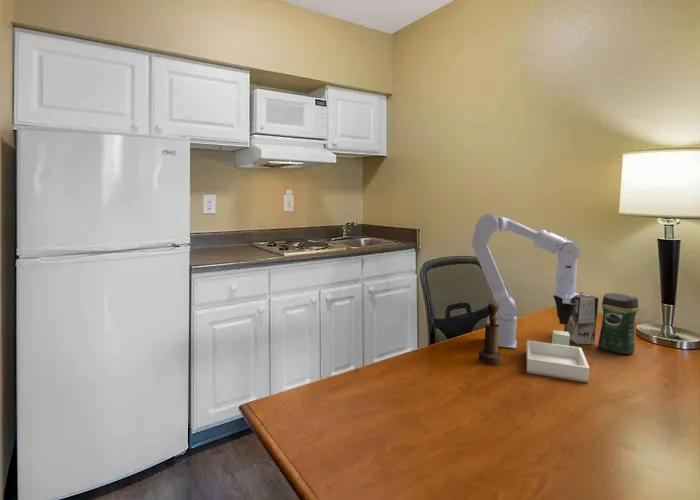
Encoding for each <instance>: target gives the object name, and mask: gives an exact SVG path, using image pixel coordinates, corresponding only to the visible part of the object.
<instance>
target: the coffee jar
mask: <svg viewBox="0 0 700 500" xmlns="http://www.w3.org/2000/svg"><path fill="white" fill-rule="evenodd" d="M638 300H639V299H638V297H637V296H631V295H629V294H628V295H627V294H623V293H617V292H608V293H605V294H604V295H603V297H602V302H601V307H602V308H601V309H602V319H601V320H602V322H601V325H600V332H599V337H598V347H599V348H600V349H602V350H605V351H608V352H612V353H615V354H620V355H630V354H631V355H632V354H634V353H635V347H636V346H635V344H636V342H635V340H636V339H635V319H636V315H637V313H638V311H639V301H638Z"/></svg>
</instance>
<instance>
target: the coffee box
mask: <svg viewBox="0 0 700 500" xmlns="http://www.w3.org/2000/svg"><path fill="white" fill-rule="evenodd" d="M575 293H579V296H575V297H573V299H572V300H571V302H570V303H575V304H576V306H575V308H574V309H573V311H572V313H571V315H570V318H569V322H568V324H567V325H565V324H564V328H563V331H565V332H569V335H570V341H571V342H573V343H574V344H576V345H595V341H596V330H597V317H598V309H599V299H600V298H599V297H598V296H594V295H592V294H589V293H586V292H578V291H577V292H576V291H575Z"/></svg>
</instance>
